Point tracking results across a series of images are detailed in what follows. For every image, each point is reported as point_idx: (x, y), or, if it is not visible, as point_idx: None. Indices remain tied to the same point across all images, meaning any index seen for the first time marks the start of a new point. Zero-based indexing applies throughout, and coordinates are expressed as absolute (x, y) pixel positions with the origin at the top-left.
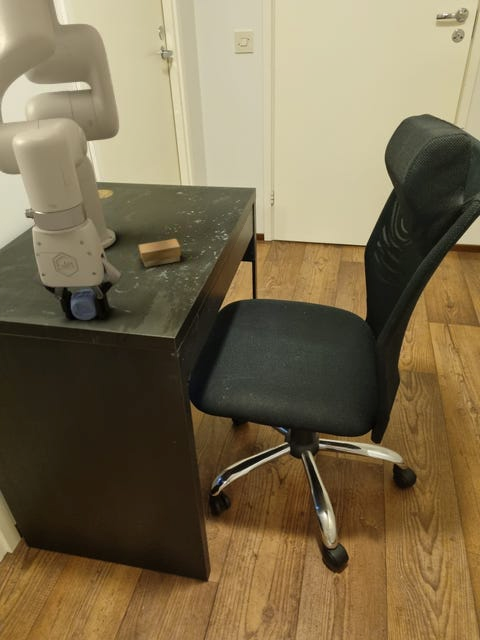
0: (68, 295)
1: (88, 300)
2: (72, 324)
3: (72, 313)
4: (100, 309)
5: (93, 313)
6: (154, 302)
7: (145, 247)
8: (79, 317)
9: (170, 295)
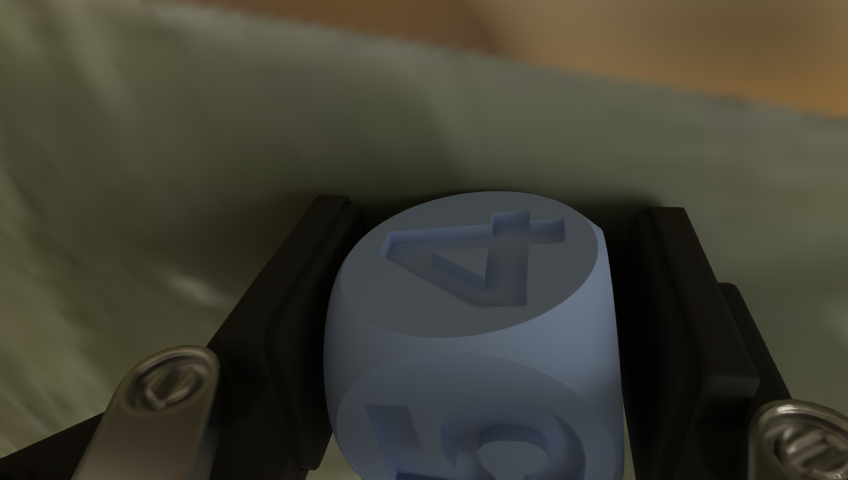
0: (669, 468)
1: (363, 347)
2: (607, 130)
3: (631, 273)
4: (282, 252)
5: (382, 232)
6: (82, 359)
7: None
8: (536, 204)
9: (41, 408)
